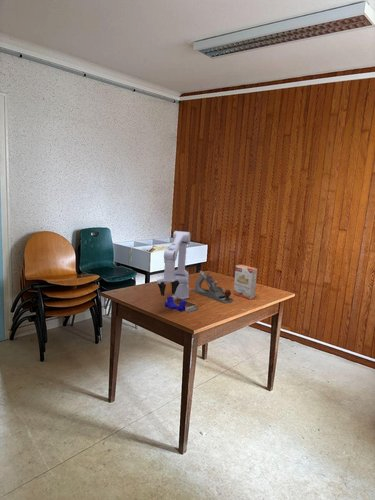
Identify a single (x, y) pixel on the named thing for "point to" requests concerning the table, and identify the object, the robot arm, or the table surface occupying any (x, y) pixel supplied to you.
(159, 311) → the table surface
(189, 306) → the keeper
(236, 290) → the cracker box
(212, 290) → the hand plane
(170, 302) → the cable clip
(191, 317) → the table surface
